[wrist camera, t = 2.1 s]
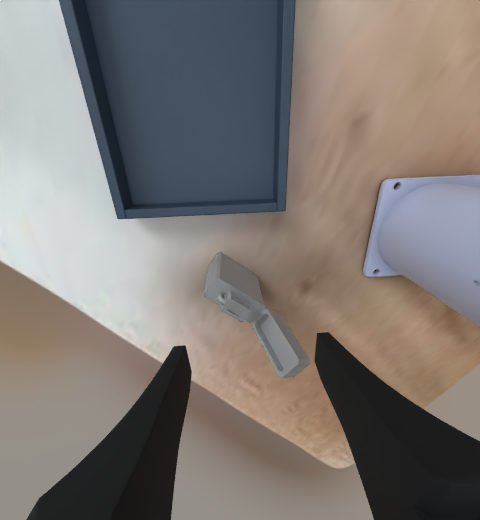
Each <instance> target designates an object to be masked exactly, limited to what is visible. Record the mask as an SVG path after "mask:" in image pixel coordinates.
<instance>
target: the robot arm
mask: <svg viewBox="0 0 480 520" xmlns="http://www.w3.org/2000/svg"><path fill="white" fill-rule="evenodd" d="M396 183H397V187H396V188H395V189H394V185H395V184H396ZM376 269H377V270H376ZM374 270H376V271H375V272H374ZM363 274H364V275H365V276H366V277H380V276H397V275H403V276H405V277H406V278H408V279H409V280H411V281H412V282H414V283H415V284H416V285H418V286H419V287H421V288H422V289H424V290H425V291H427V292H428V293H430V294H431V295H433V296H434V297H436V298H437V299H438V300H440V301H441V302H443V303H444V304H446V305H447V306H449V307H450V308H452V309H453V310H455V311H456V312H457V313H459V314H460V315H462V316H463V317H465V318H466V319H468V320H469V321H471V322H472V323H474V324H475V325H476V326H478V327H479V328H480V175H460V176H437V177H415V178H393V179H386V180H385V181H383V183H382V185H381V188H380V192H379V197H378V202H377V206H376V211H375V216H374V220H373V225H372V230H371V234H370V239H369V244H368V248H367V253H366V258H365V262H364V267H363ZM315 363H316V366H317V369H318V372H319V375H320V378H321V381H322V383H323V385H324V388H325V390H326V392H327V394H328V396H329V399H330V401H331V403H332V405H333V407H334V410H335V412H336V414H337V416H338V418H339V420H340V423H341V425H342V427H343V430H344V432H345V435H346V438H347V440H348V443H349V446H350V449H351V451H352V454H353V457H354V460H355V463H356V466H357V469H358V472H359V475H360V477H361V480H362V483H363V486H364V490H365V492H366V496H367V499H368V502H369V505H370V508H371V511H372V514H373V518H374V520H480V441H478V440H476V439H474V438H472V437H470V436H468V435H467V434H465V433H462V432H461V431H459V430H457V429H456V428H454V427H452V426H450V425H449V424H447V423H445V422H443V421H441V420H440V419H438V418H437V417H435V416H433V415H432V414H430V413H428V412H427V411H425V410H424V409H422V408H421V407H419V406H417V405H416V404H414V403H413V402H411V401H410V400H408V399H407V398H405V397H404V396H402V395H401V394H400V393H398V392H397V391H396V390H394V389H393V388H391V387H390V386H389V385H387V384H386V383H385V382H383V381H382V380H381V379H380V378H378V377H377V376H376V375H375V374H373V373H372V372H371V371H370V370H369V369H367V368H366V367H365V366H364V365H363V364H362V363H361V362H359V361H358V360H357V359H356V358H355V357H354V356H353V355H352V354H351V353H350V352H348V351H347V350H346V349H345V348H344V347H343V346H342V345H341V344H340V343H339V342H338V341H337V340H336V339H335V338H334V337H333V336H332V335H331V334H330V333H329V332H326V333H317V340H316V351H315ZM191 373H192V372H191V367H190V363H189V359H188V354H187V350H186V346H174V347H173V348H172V350H171V352H170V353H169V355H168V357H167V358H166V360H165V361H164V363H163V365H162V366H161V368H160V369H159V371H158V372H157V374H156V375H155V377H154V378H153V380H152V381H151V383H150V384H149V385H148V387H147V388H146V389H145V391H144V392H143V394H142V395H141V396H140V398H139V399H138V400H137V401H136V403H135V404H134V405H133V407H132V408H131V409H130V410H129V412H128V413H127V414H126V415H125V416H124V417H123V419H122V420H121V421H120V422H119V423H118V424H117V425H116V426H115V427H114V428H113V430H112V431H111V432H110V433H109V434H108V435H107V436H106V437H105V438H104V439H103V440H102V441H101V443H99V444H98V445H97V446H96V447H95V449H93V450H92V451H91V452H90V453H89V454H88V455H87V456H86V457H85V458H84V459H83V460H82V461H81V462H80V463H79V464H78V465H77V466H76V467H75V468H74V469H72V470H71V471H70V472H69V473H68V474H67V475H66V476H65V477H63V478H62V479H61V480H60V481H59V482H58V483H56V484H55V485H54V486H53V487H52V488H51V489H50V490H48V492H46V493H45V494H44V495H43V496H41V497H40V498H39V500H38V501H37V503H36V505H35V506H34V508H33V509H32V511H31V513H30V514H29V516H28V518H27V520H171V510H172V501H173V491H174V481H175V473H176V465H177V457H178V449H179V443H180V437H181V432H182V427H183V423H184V418H185V413H186V408H187V403H188V398H189V393H190V383H191Z"/></svg>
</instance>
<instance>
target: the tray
mask: <svg viewBox="0 0 480 520" xmlns="http://www.w3.org/2000/svg"><path fill="white" fill-rule="evenodd" d="M59 2H60V6H61V10H62V13H63V17H64V21H65V24H66V28H67V32H68V36H69V39H70V43H71V47H72V51H73V54H74V58H75V62H76V66H77V69H78V73H79V77H80V80H81V84H82V88H83V92H84V95H85V99H86V103H87V107H88V110H89V114H90V118H91V121H92V125H93V129H94V133H95V136H96V140H97V144H98V148H99V151H100V155H101V159H102V163H103V166H104V170H105V174H106V177H107V181H108V185H109V189H110V192H111V196H112V200H113V204H114V207H115V211H116V215H117V218H118V219H126V218H127V219H133V218H154V217H174V216H195V215H215V214H236V213H256V212H276V211H285V210H286V189H287V168H288V147H289V126H290V105H291V84H292V63H293V42H294V21H295V0H59Z"/></svg>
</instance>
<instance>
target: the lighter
mask: <svg viewBox="0 0 480 520" xmlns="http://www.w3.org/2000/svg"><path fill="white" fill-rule="evenodd" d="M204 297H206V298H207V299H209V300H211V301H213V302H214V303H216V304H218V305H220V306H221V311H223V312H225V313H226V314H228V315H230V316H232V317H233V318H235V319H237V320H239V321H240V322H243V321H244V320H246V321H247V322H252V327H253V329H254V331H255V332H256V334H257V336H258V338H259V340H260V342H261V344H262V346H263V348H264V349H265V351H266V353H267V355H268V357H269V359H270V361H271V363H272V364H273V366H274V368H275V370H276V372H277V374H278V376H279V377H282V378H286V377H295V376H296V375H297V374H298V373H299V372H301V371H302V370H303V369H304V368H305V367H306V366H308V365H309V364H310V359H309V357H308V356H307V354H306V353H305V351H304V350H303V348H302V347H301V345H300V344H299V342H298V341H297V339H296V338H295V336H294V335H293V333H292V331H291V330H290V328H289V327H288V325H287V324H286V322H285V321H284V319H283V318H282V316H281V315H280V313H279V312H277V311H273V310H269V309H265V306H264V302H263V298H262V294H261V290H260V286H259V282H258V278H257V276H256V275H254V274H253V273H251V272H250V271H248V270H247V269H245V268H244V267H242V266H241V265H239V264H238V263H236V262H235V261H233V260H232V259H230V258H229V257H227V256H226V255H224V254H223V253H218V254H217V255H216V256H215V258H214V259H213V260H212V262H211V263H210V264H209V266H208V272H207V278H206V284H205V290H204Z"/></svg>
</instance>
